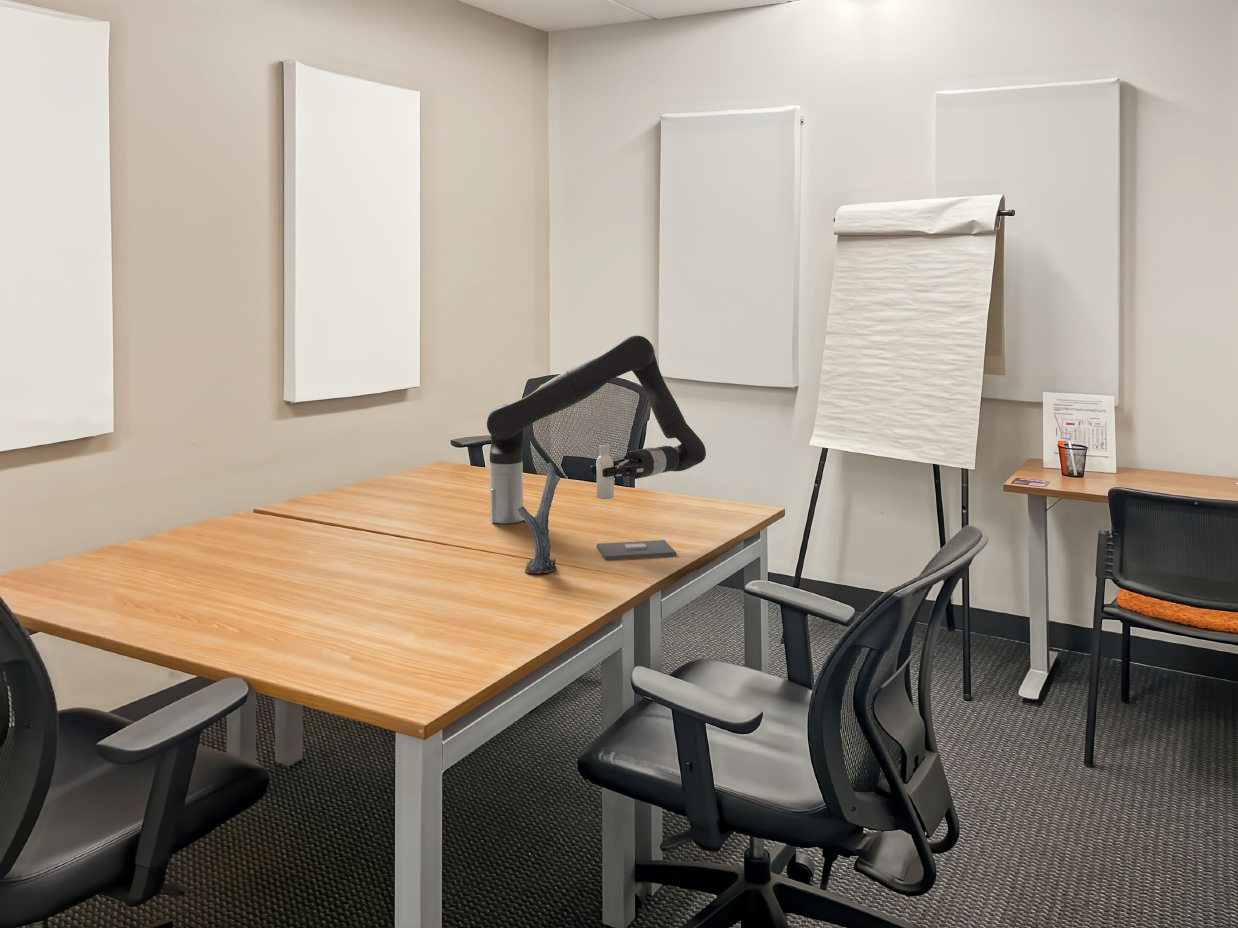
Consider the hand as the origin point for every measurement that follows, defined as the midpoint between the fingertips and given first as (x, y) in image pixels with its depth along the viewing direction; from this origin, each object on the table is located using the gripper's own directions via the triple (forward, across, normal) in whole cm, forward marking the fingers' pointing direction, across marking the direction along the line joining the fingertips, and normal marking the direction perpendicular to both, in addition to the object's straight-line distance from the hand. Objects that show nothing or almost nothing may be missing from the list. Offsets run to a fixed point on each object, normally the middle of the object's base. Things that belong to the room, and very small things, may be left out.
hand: (597, 471), depth 245 cm
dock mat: (-5, +9, +20) cm, 23 cm away
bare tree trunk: (+22, +4, +20) cm, 30 cm away
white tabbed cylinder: (-3, 0, +7) cm, 8 cm away
